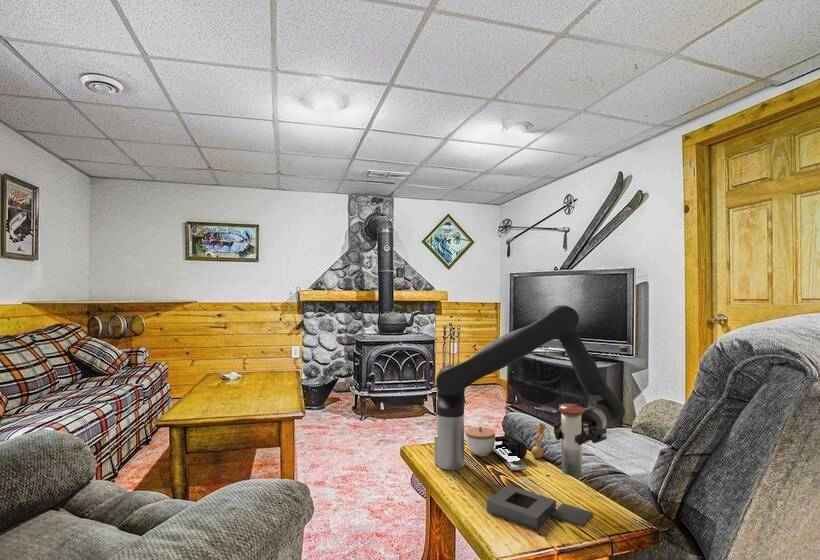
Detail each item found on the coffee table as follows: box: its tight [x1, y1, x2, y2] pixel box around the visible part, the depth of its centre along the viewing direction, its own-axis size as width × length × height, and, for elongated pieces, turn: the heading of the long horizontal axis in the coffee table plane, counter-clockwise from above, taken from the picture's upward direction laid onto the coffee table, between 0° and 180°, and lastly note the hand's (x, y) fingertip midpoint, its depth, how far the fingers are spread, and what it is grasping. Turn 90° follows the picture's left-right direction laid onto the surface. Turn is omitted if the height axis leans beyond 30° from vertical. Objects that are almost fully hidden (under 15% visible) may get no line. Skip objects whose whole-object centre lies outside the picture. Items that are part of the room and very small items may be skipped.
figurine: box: [530, 422, 551, 459], centre depth 152 cm, size 8×6×12 cm
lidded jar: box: [464, 426, 496, 457], centre depth 156 cm, size 11×11×9 cm
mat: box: [551, 502, 594, 528], centre depth 112 cm, size 8×8×1 cm
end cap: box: [494, 432, 528, 460], centre depth 152 cm, size 10×7×7 cm
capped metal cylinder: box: [558, 402, 584, 477], centre depth 113 cm, size 6×6×17 cm
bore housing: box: [486, 484, 557, 531], centre depth 114 cm, size 14×12×3 cm
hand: (568, 438), depth 111 cm, fingers closed on capped metal cylinder, 5 cm apart
